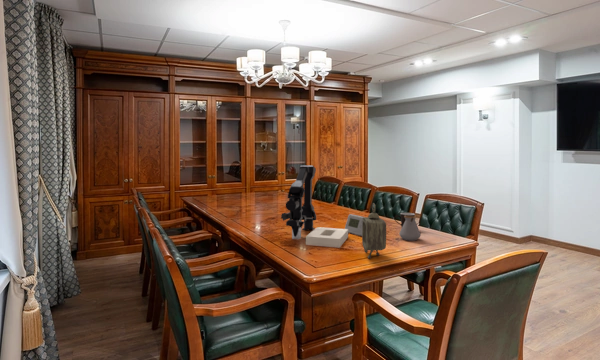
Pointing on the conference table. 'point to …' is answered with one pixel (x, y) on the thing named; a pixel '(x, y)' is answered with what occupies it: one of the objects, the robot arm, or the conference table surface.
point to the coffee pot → (410, 229)
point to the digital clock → (354, 224)
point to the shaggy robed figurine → (373, 233)
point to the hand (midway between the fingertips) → (296, 235)
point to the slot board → (327, 237)
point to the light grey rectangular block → (297, 234)
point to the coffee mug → (403, 217)
